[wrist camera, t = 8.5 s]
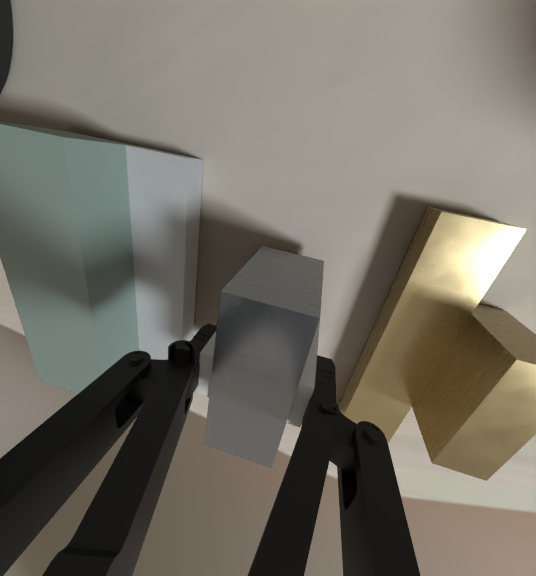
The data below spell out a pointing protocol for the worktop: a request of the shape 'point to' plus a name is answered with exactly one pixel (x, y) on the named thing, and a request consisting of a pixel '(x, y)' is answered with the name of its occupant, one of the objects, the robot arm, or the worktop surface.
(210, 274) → the worktop surface
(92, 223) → the block
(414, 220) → the worktop surface
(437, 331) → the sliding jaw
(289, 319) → the steel block
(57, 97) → the worktop surface
